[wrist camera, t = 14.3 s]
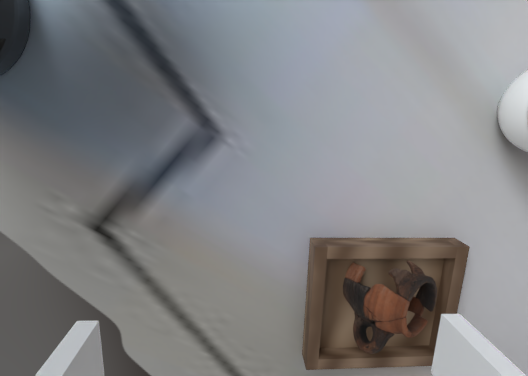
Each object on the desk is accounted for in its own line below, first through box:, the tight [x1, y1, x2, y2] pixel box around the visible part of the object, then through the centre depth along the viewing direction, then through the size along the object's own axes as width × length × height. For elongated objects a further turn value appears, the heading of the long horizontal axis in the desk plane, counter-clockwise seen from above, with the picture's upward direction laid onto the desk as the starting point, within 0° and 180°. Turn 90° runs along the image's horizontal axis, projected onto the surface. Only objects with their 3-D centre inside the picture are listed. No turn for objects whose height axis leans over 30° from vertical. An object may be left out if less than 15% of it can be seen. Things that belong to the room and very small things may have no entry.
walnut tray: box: [302, 238, 469, 370], centre depth 42 cm, size 19×17×3 cm
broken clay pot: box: [343, 260, 437, 354], centre depth 40 cm, size 12×10×8 cm
